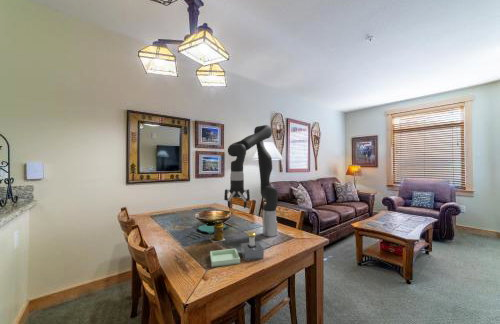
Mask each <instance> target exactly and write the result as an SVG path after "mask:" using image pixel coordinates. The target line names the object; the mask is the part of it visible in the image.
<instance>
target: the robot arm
mask: <svg viewBox="0 0 500 324" xmlns="http://www.w3.org/2000/svg"><path fill="white" fill-rule="evenodd" d="M272 135H273V130H272V127H271V126H270V125H267V124H264V125H259V126H256V127H254V131H253V134H251V135H248V136H246V137H244V138H242V139H240V140H239V141H236V142H233V143H231V144H230V145H229V146H228V148H227V153H228V155H229V156H231V157H233V158H234V157H236V159H235V160H233V161H230V175H229V177H230V178H229V179H230V189H228V188H226V189H224V201H227V207H228V209H231V208H232V207H231V205H232V204H231V203H232V198H241V199H242V200H243V208H244V209H246V208H247V206H248V205H247V202H248V201H250V199H251V198H250V189H245V188H244V187H245V184H244V182H245V181H244V180H245V179H244V178H245V177H244V175H245V174H244V162H245V160H246V159H245V158H246V155H247V151H248V150H250V149H251V148H253V147H254V146H255V147H256V150H257V151H256V152H257V158H258V159H257V160H258V169H259V176H260V177H259V179H260V180H259V181H260V196H261V197H262V199H264V200H266V203H265V204H264V205H262V235H263V236H265V237H275V236H278V220H277V208H278V207H277V206H278V203H279V202H278V201H279V200H278V198H279V194H278V193H279V192H278V189H277V188H276V187H274V186H271V183H270V178H271V174H272V170H273V159H272V156H271V154H270V153H269V151H268V150H267V148H266V146H265V143H264V141H265V140H267V139H269V138H271V137H272ZM229 193H230V196H229V197H228V194H229ZM245 194H246V196H245Z"/></svg>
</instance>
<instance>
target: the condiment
mask: <svg viewBox="0 0 500 324" xmlns="http://www.w3.org/2000/svg"><path fill="white" fill-rule="evenodd" d="M214 223H215V225H214V232H213V237H211V238H209V240H210V242H212V243H213V244H214V243H217V242H222V241H226V238H224V229H223V225H224V221H223V220H222V219H217V220H214Z"/></svg>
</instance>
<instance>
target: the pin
mask: <svg viewBox="0 0 500 324" xmlns="http://www.w3.org/2000/svg"><path fill="white" fill-rule="evenodd" d="M247 236H248V243H249V248H255V242H256V241H255V240H256V236H257V233H256V232H255V231H249V232H247Z"/></svg>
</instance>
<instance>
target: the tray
mask: <svg viewBox="0 0 500 324" xmlns="http://www.w3.org/2000/svg"><path fill="white" fill-rule="evenodd" d="M209 259H210V264H211V268H215V267H222V266H223V267H225V266H231V265H238V264H241V257H240V254H239V252H238V250H237V248H228V249H219V250H209Z"/></svg>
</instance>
